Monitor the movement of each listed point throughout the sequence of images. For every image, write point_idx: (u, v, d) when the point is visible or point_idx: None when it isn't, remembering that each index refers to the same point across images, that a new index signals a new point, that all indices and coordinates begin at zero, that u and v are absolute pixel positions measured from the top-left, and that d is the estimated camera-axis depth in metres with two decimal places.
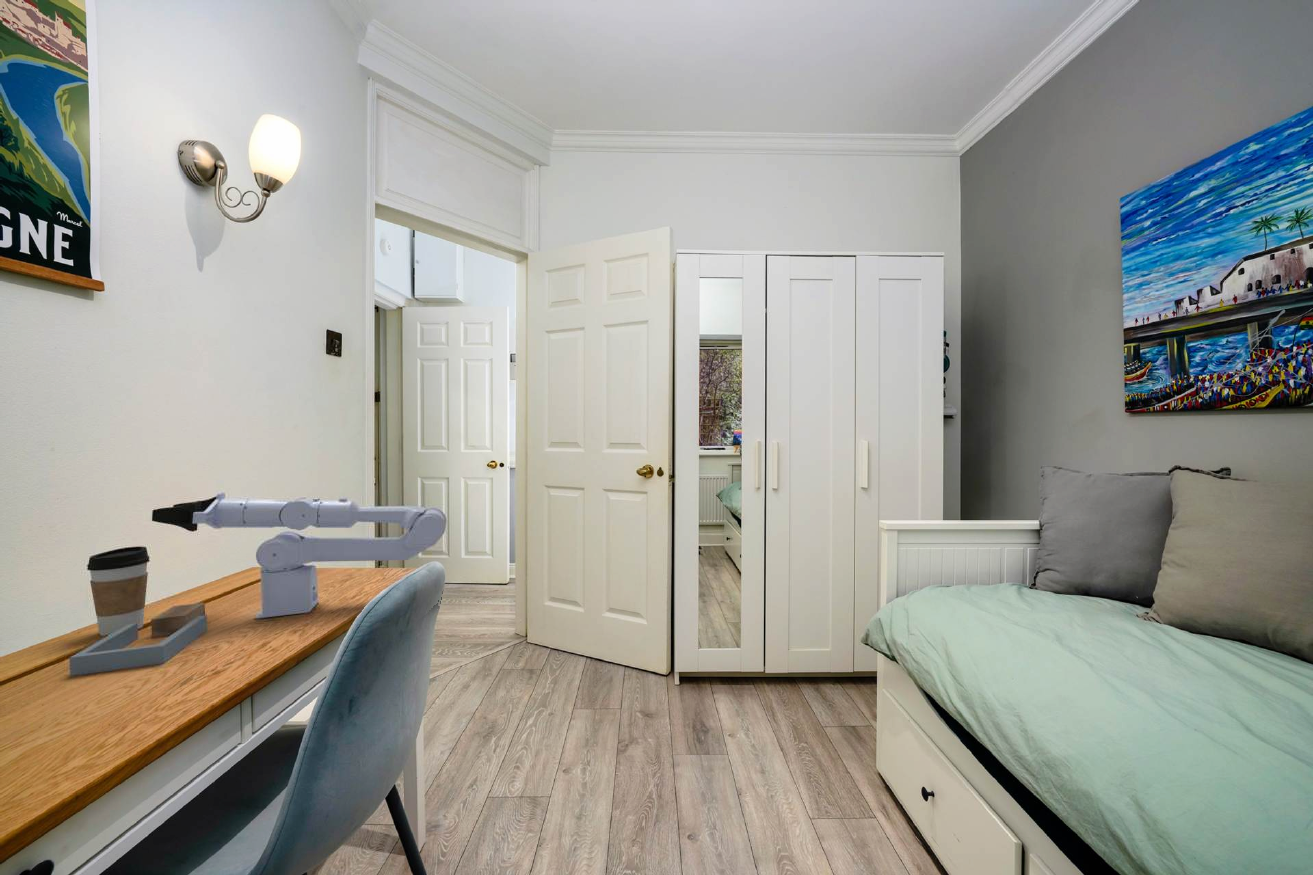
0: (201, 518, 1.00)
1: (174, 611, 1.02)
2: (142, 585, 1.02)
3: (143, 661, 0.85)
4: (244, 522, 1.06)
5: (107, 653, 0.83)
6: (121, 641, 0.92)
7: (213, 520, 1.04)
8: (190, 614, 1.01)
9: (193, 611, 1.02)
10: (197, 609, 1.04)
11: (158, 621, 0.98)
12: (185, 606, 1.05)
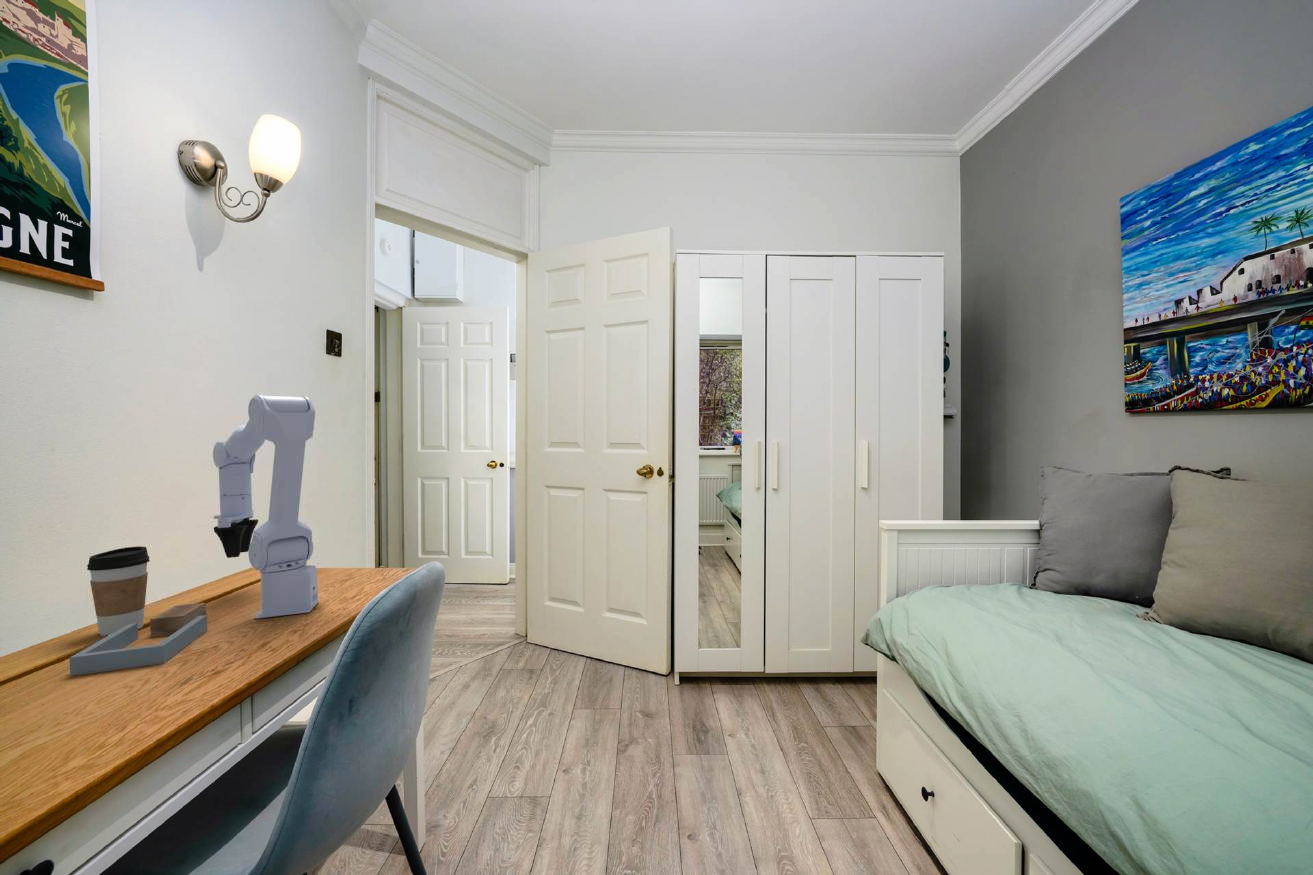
0: (223, 521, 1.15)
1: (174, 611, 1.02)
2: (142, 585, 1.02)
3: (143, 661, 0.85)
4: (240, 494, 1.20)
5: (107, 653, 0.83)
6: (121, 641, 0.92)
7: None
8: (189, 614, 1.01)
9: (192, 611, 1.02)
10: (197, 609, 1.04)
11: (157, 621, 0.98)
12: (186, 606, 1.05)
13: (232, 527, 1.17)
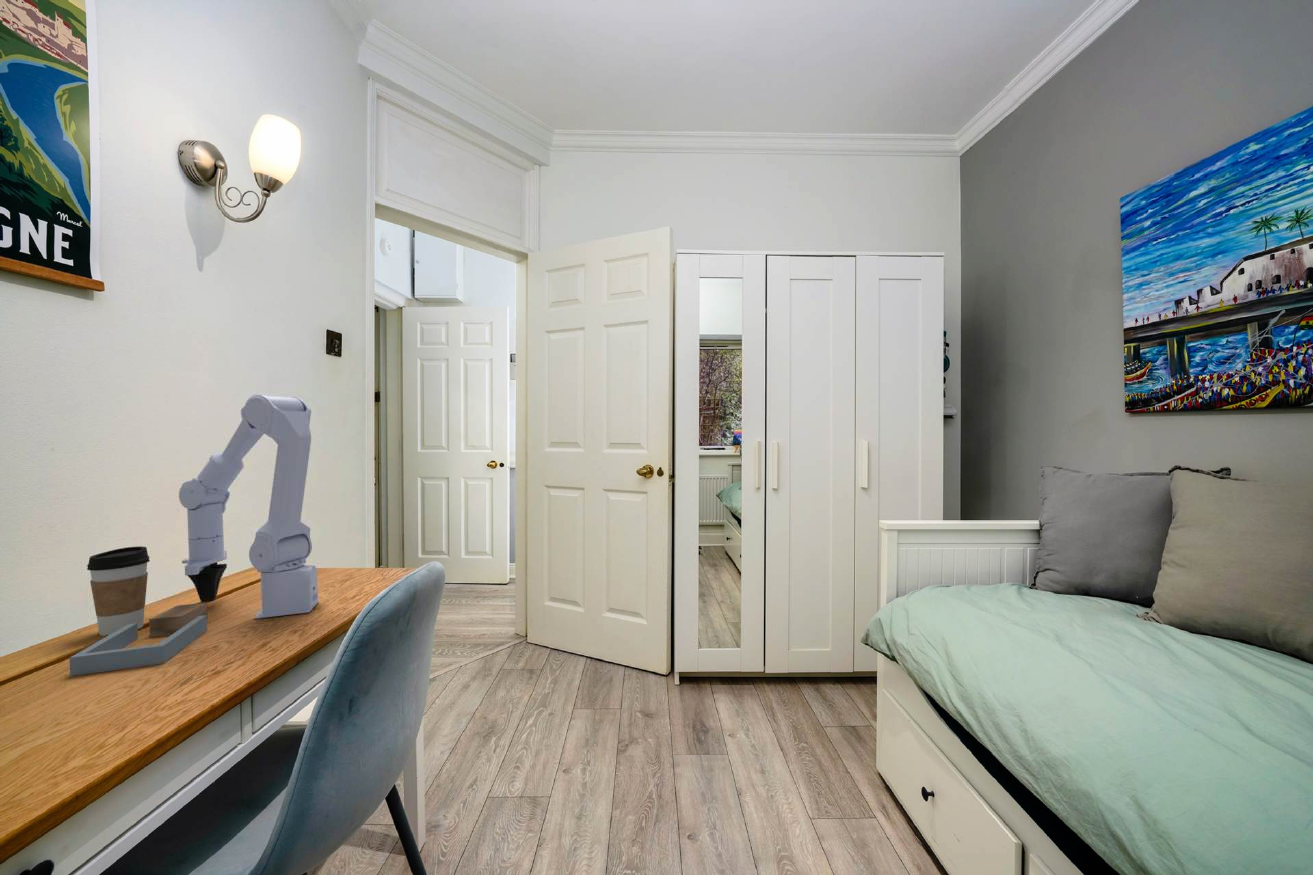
0: (191, 568, 1.07)
1: (174, 611, 1.02)
2: (142, 585, 1.02)
3: (143, 661, 0.85)
4: (210, 537, 1.12)
5: (107, 653, 0.83)
6: (121, 641, 0.92)
7: (207, 561, 1.12)
8: (188, 614, 1.01)
9: (192, 611, 1.02)
10: (197, 609, 1.04)
11: (156, 621, 0.98)
12: (187, 606, 1.05)
13: (206, 571, 1.12)
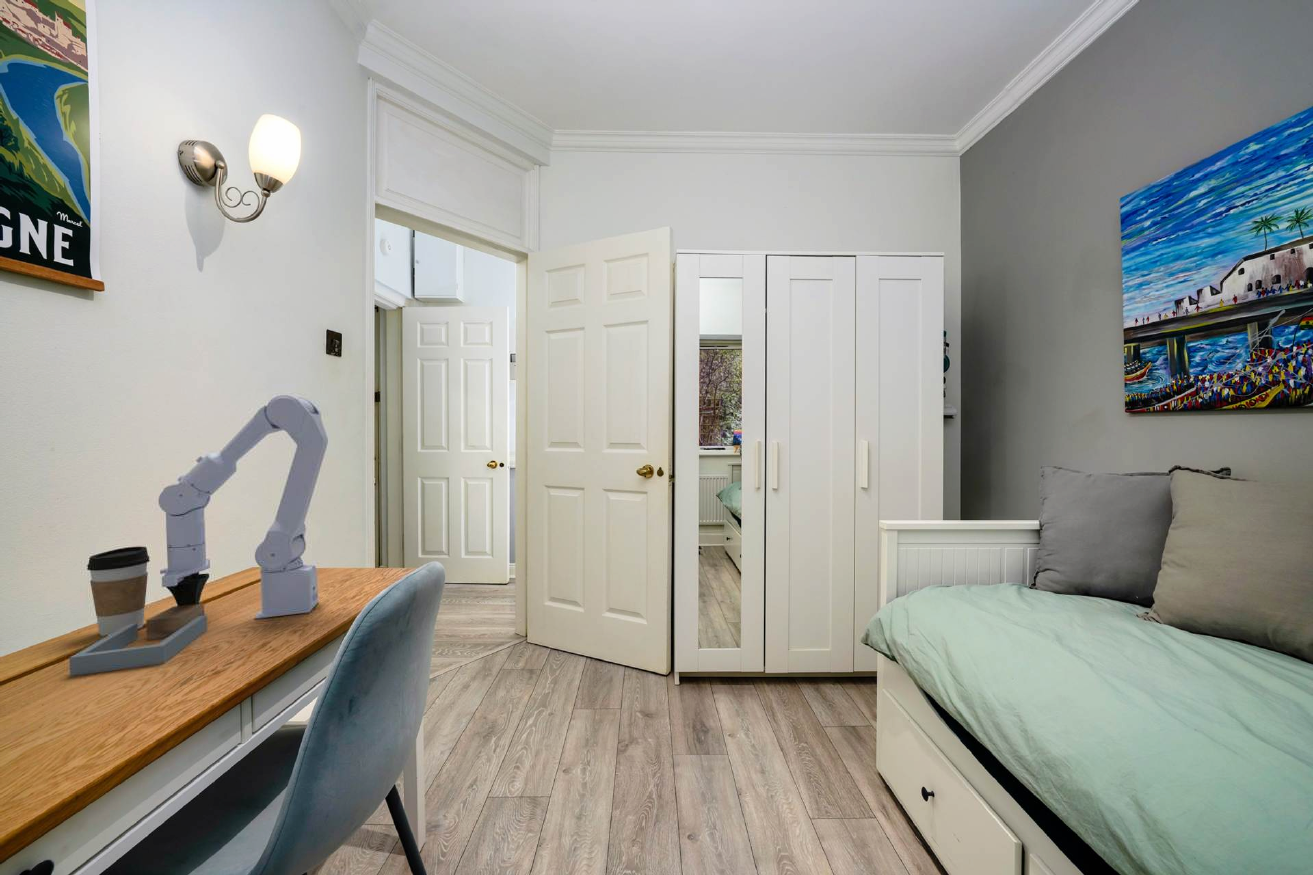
0: (168, 579, 0.99)
1: (171, 612, 1.00)
2: (142, 585, 1.02)
3: (143, 661, 0.85)
4: (190, 545, 1.04)
5: (107, 653, 0.83)
6: (121, 641, 0.92)
7: (187, 571, 1.03)
8: (186, 615, 1.00)
9: (190, 612, 1.01)
10: (194, 610, 1.02)
11: (153, 622, 0.97)
12: (184, 607, 1.03)
13: (186, 581, 1.04)
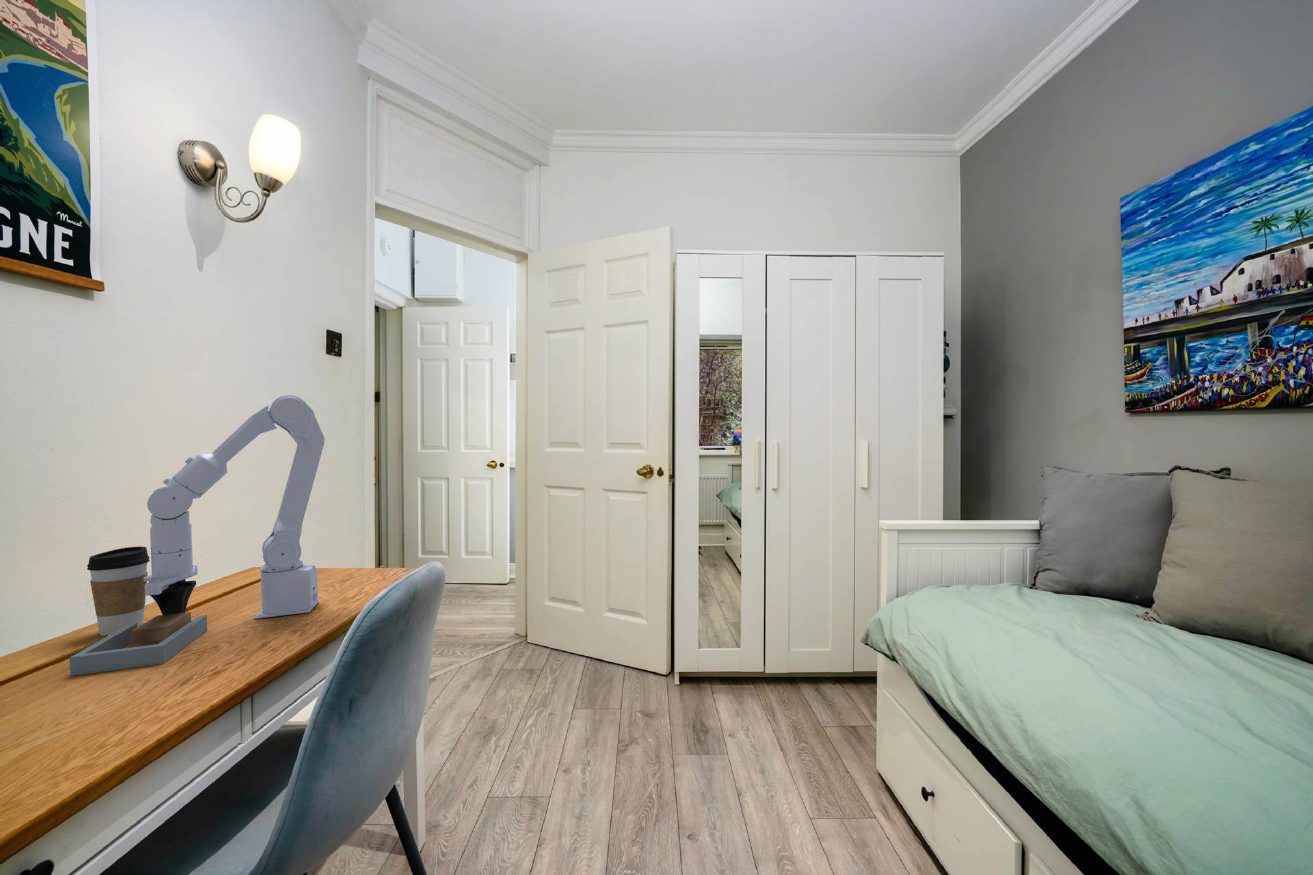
0: (152, 587, 0.94)
1: (157, 621, 0.95)
2: (142, 585, 1.02)
3: (143, 661, 0.85)
4: (176, 551, 0.99)
5: (107, 653, 0.83)
6: (121, 641, 0.92)
7: (172, 578, 0.98)
8: (175, 624, 0.95)
9: (178, 621, 0.96)
10: (182, 619, 0.97)
11: (140, 632, 0.91)
12: (169, 616, 0.98)
13: (171, 589, 0.98)
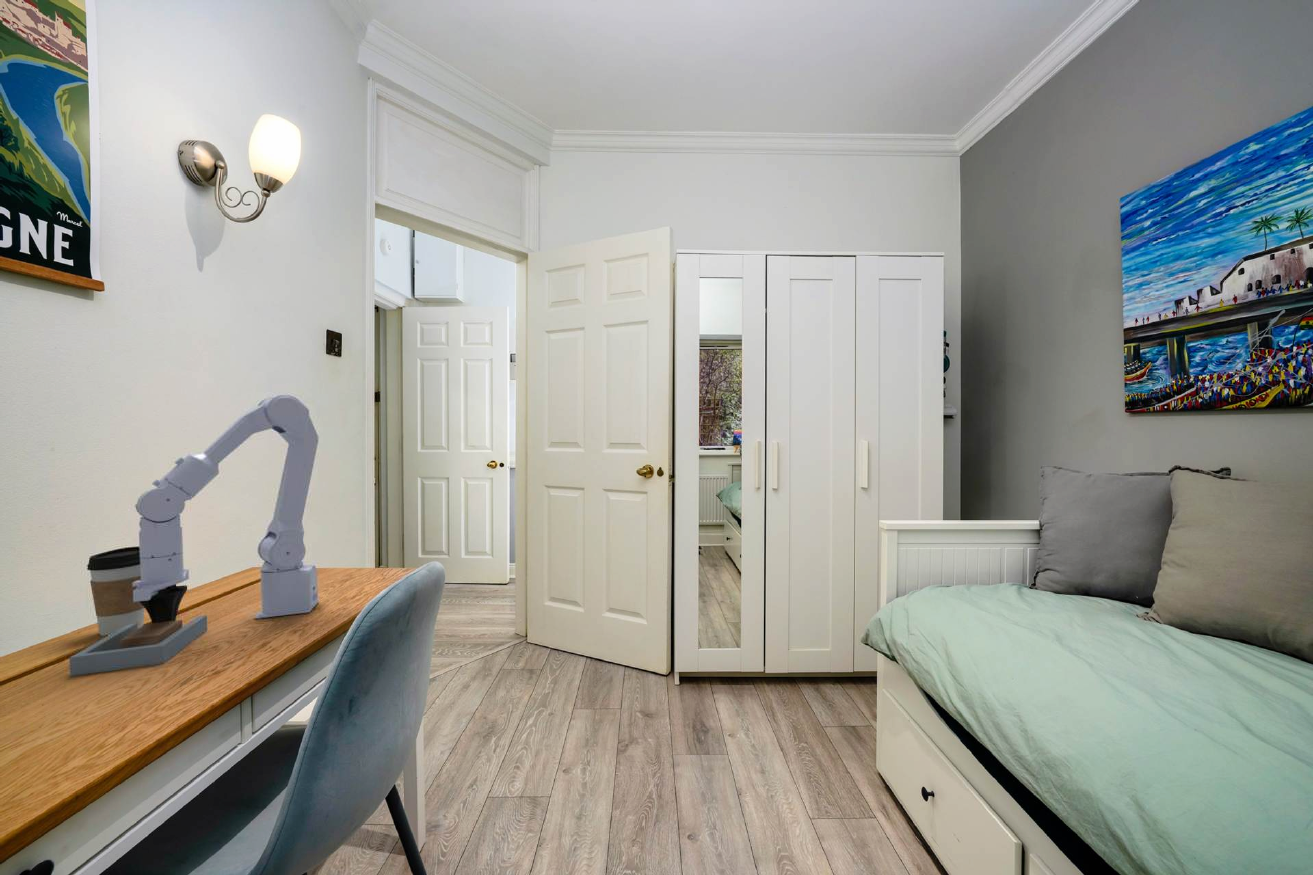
0: (140, 593, 0.90)
1: (147, 630, 0.92)
2: None
3: (143, 661, 0.85)
4: (166, 555, 0.95)
5: (107, 653, 0.83)
6: None
7: (162, 583, 0.95)
8: (165, 633, 0.91)
9: (168, 630, 0.93)
10: (173, 627, 0.94)
11: (129, 642, 0.88)
12: (160, 624, 0.95)
13: (161, 595, 0.95)
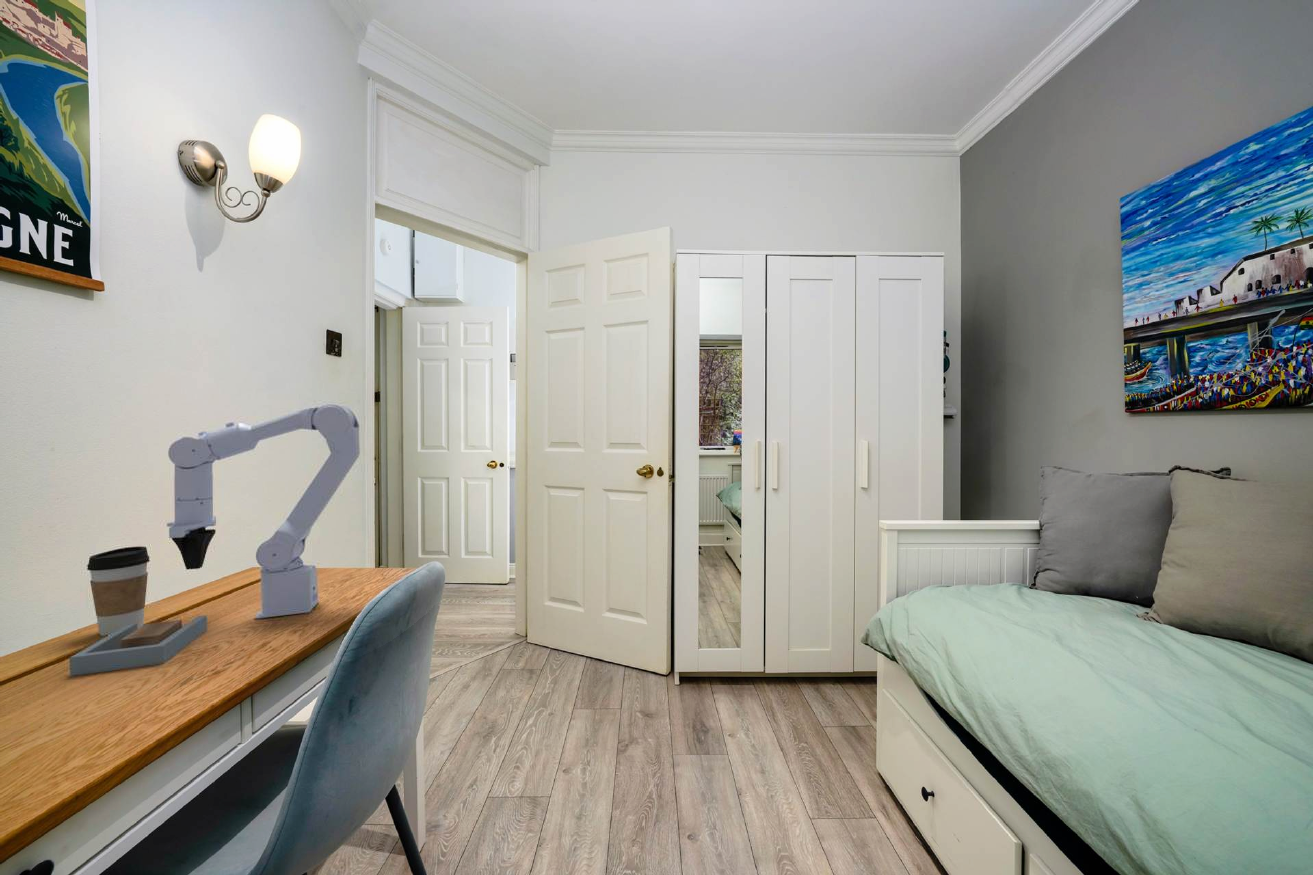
0: (176, 530, 0.99)
1: (147, 630, 0.92)
2: (142, 585, 1.02)
3: (143, 661, 0.85)
4: (198, 499, 1.04)
5: (107, 653, 0.83)
6: None
7: None
8: (165, 633, 0.91)
9: (169, 630, 0.93)
10: (173, 627, 0.94)
11: (129, 642, 0.88)
12: (159, 624, 0.95)
13: (193, 535, 1.03)
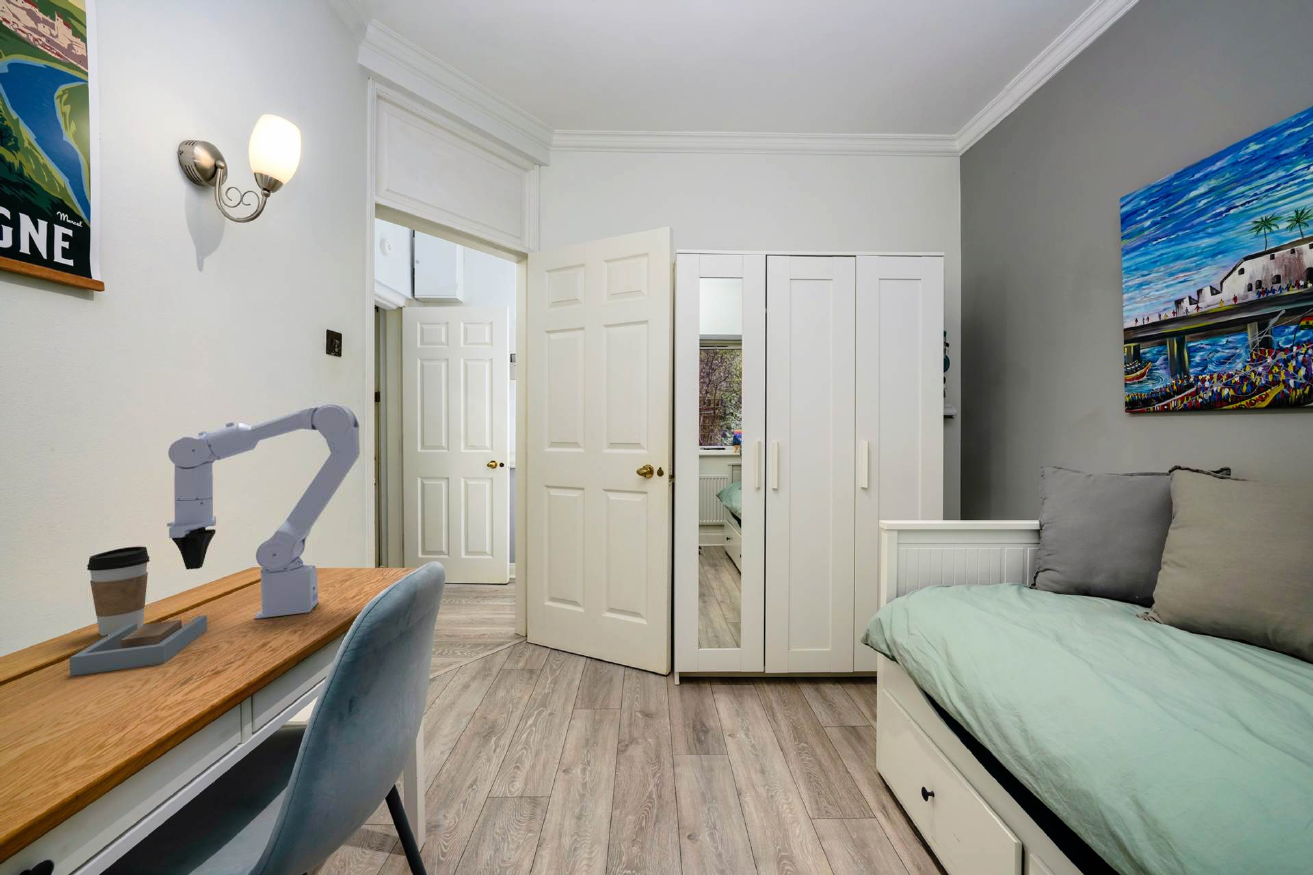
0: (176, 530, 0.99)
1: (147, 630, 0.92)
2: (142, 585, 1.02)
3: (143, 661, 0.85)
4: (198, 499, 1.04)
5: (107, 653, 0.83)
6: None
7: None
8: (165, 633, 0.92)
9: (169, 629, 0.93)
10: (173, 627, 0.94)
11: (129, 642, 0.88)
12: (159, 624, 0.95)
13: (193, 535, 1.03)
